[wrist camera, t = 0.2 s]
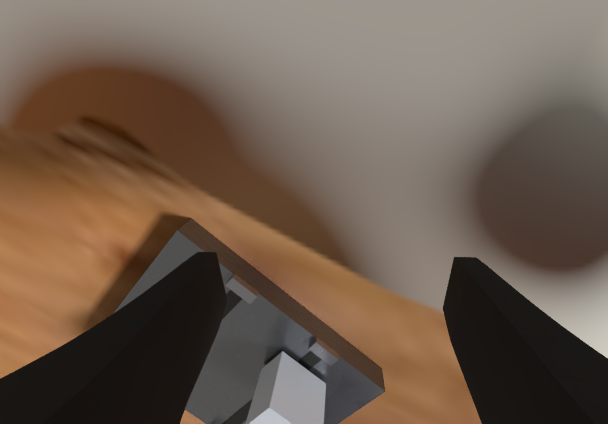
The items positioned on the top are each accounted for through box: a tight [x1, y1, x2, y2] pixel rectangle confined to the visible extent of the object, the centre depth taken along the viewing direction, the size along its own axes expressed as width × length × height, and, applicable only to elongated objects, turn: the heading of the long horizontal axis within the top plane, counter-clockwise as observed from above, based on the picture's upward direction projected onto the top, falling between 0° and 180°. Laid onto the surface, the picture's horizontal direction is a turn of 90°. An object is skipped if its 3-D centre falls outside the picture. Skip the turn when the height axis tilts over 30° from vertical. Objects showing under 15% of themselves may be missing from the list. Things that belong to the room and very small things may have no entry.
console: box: [113, 219, 385, 424], centre depth 24 cm, size 13×18×2 cm
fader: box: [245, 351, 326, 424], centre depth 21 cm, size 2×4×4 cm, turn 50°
